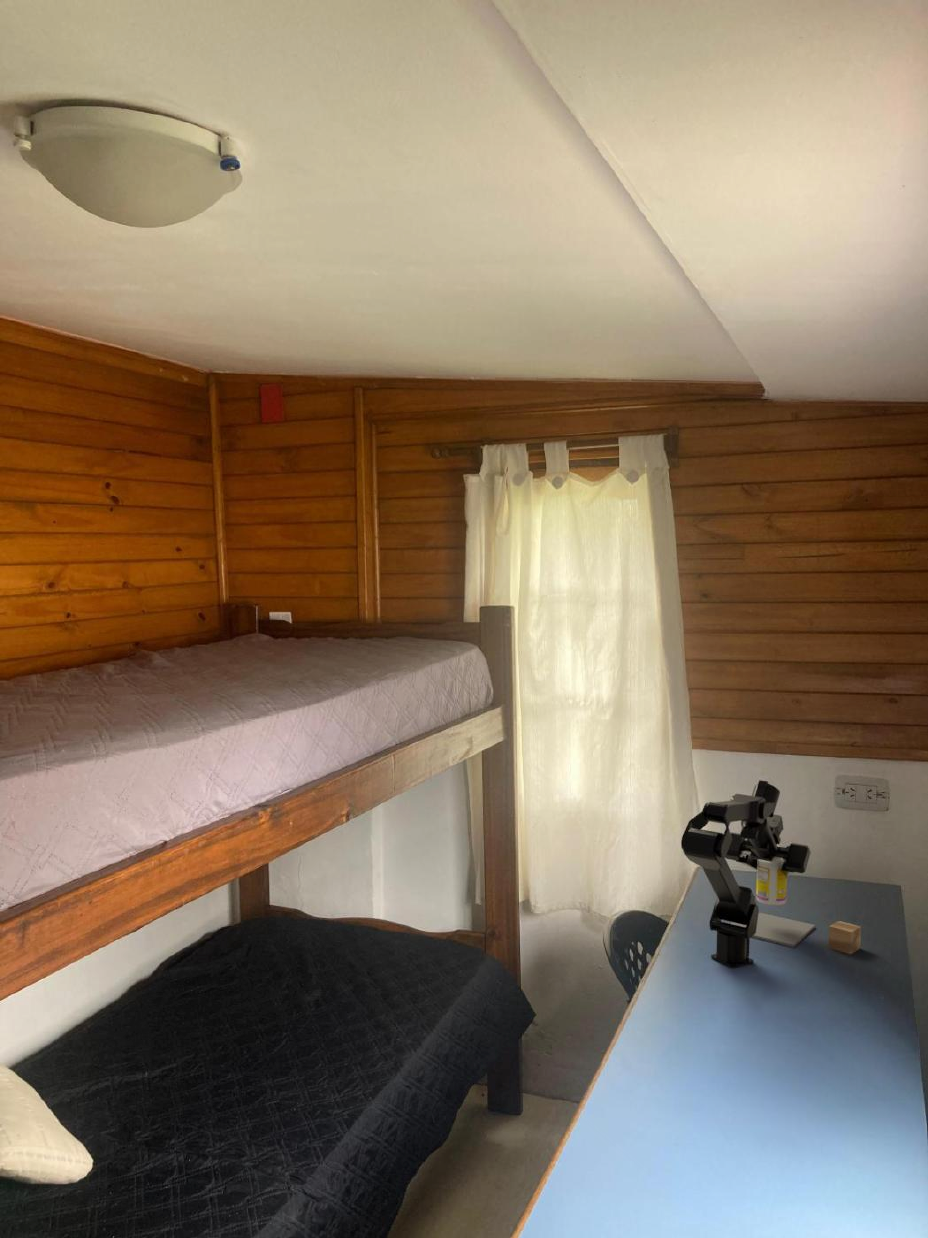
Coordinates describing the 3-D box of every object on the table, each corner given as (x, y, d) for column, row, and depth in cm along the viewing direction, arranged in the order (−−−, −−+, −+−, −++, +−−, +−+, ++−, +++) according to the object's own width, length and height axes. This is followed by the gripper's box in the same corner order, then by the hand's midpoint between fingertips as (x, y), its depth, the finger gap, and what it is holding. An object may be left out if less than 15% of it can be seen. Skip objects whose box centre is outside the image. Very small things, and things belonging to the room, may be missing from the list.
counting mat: (793, 947, 210) (793, 944, 210) (723, 930, 220) (723, 928, 220) (814, 927, 223) (815, 925, 223) (748, 912, 233) (748, 910, 233)
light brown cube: (850, 954, 207) (851, 932, 207) (828, 948, 210) (829, 926, 210) (860, 949, 210) (861, 926, 210) (838, 942, 214) (838, 921, 214)
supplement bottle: (785, 899, 223) (787, 845, 223) (786, 908, 217) (788, 852, 217) (755, 896, 225) (757, 842, 225) (756, 904, 219) (757, 849, 218)
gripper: (809, 811, 212) (822, 850, 221) (728, 798, 223) (744, 836, 232) (797, 853, 205) (810, 891, 215) (714, 838, 217) (731, 875, 226)
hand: (773, 872), depth 222 cm, fingers closed on supplement bottle, 7 cm apart
